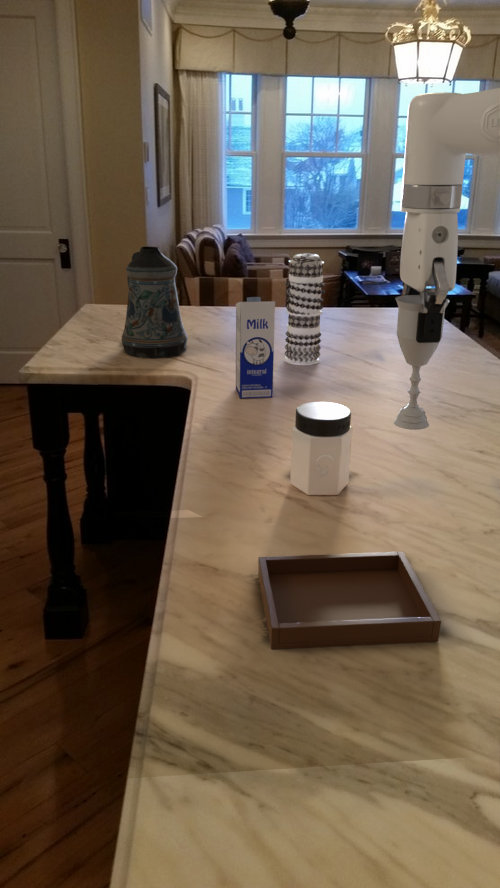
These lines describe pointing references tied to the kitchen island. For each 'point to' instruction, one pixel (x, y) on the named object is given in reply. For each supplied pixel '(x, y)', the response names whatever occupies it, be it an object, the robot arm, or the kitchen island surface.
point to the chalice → (413, 358)
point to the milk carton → (254, 348)
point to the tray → (344, 600)
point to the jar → (321, 448)
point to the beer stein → (153, 307)
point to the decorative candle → (304, 309)
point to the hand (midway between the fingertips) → (419, 334)
